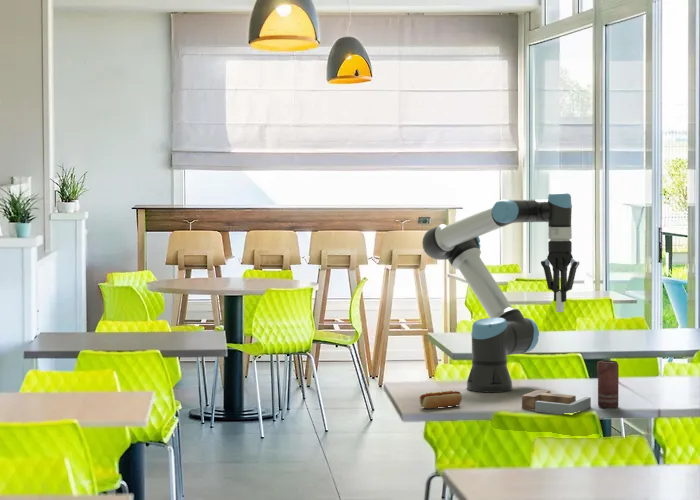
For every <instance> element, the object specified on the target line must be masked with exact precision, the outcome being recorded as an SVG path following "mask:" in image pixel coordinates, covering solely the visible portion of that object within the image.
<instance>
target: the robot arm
mask: <svg viewBox="0 0 700 500" xmlns="http://www.w3.org/2000/svg"><path fill="white" fill-rule="evenodd" d="M572 205H573V204H572V195H571V194H570V193H568V192H567V193H566V192H565V193H561V192H560V193H559V192H556V193H549V194H548V196H547V199H533V198H532V199H501V200H497V201H496V202H494V204H493V206H491V207H489V208H486V209H483V210H481V211H479V212H477V213H474V214H471V215H470V216H466V217H465V218H462V219H460V220H457V221H455V222H453V223H450V224H440V225H438V226H435V227H432V228H431V229H428V231H426V232H425V233H424V236H423V237H422V248H423V251H424V253H425V254H426V255H427V256H429V257H430V258H431V259H435V260H439V261H440V260H442V261H443V260H447V261H448V262H449V263H450V265H451V267H452V269H454V270H459V271H460V273H461V274H462V276H463V278H464V279H465V281H466V283H467V284H468V286H469V287H470V289H471V291H472V292H473V294H474V295H475V296H476V299H478V301H479V303H480V304H481V306H482V308H483V310H484V311H485V312H486V314H487V316H488V318H487V317H485V318H481V319H478V320H476V321H474V322H473V323H472V327H471V334H470V335H471V368H470V370H469V375H468V378H467V380H466V389H467V390H468V391H469V390H470V391H474V392H477V393H478V392H479V393H500V392H501V393H502V392H508V391H511V390H513V381H512V378H511V375H510V372H509V368H508V356H510V355H518V354H526V353H529V352H531V351H533V350H534V349H535V348H536V346H537V345H538V343H539V337H540V329H539V327H538V325H537V323H536V321H535V320H533V319H531V318H528V317H524V315H523V313H522V312H521V311H520V309H518V308H514V307H513V306H512V305H511V304H510V302H509V300H508V298H507V297H506V295H505V294H504V292H503V291H502V289H501V287H500V286H499V285H498V283H497V281H496V280H495V279H494V277H493V275H492V273H491V272H490V271H489V269H488V268H487V266H486V265H485V263H484V261H483V260H482V258H481V254H482V252H481V251H482V250H481V244H480V243H481V239H480V237H481V236H483V235H486V234H488V233H490V232H493V231H496V230H498V229H501V228H503V227H506V226H509V225H511V224H514V223H515V224H516V223H547V224H548V230H547V231H548V233H547V234H548V235H547V237H548V240H549V241H548V243H547V245H548V246H547V250H548V255H547V258H546V259H544V260H541V261H540V264H541V266H542V268H543V272H544V276H545V279H546V285H547V289H548V290H549V291H550V290H551V291H552V292H553V301H554V302H555V303H556V304H555V305H556V307H555V308H556V309H555V310H556V312H557V313H563V312H565V302H567V292H568V291H571V290H572V289H573V285H574V282H575V276H576V274H577V273H576V272H577V268H578V267H579V265H580V261H577V260H575V259H574V256H573V254H572V249H573V247H572V244H573V243H572V241H571V239H572V238H573V237H572V235H573V234H572V232H573V231H572V212H573V211H572V208H573V206H572ZM550 265H551V266H552V269H551V267H550ZM569 265H570V268H569V271H568V267H569ZM551 270H552V271H551ZM568 272H569V273H568Z"/></svg>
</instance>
